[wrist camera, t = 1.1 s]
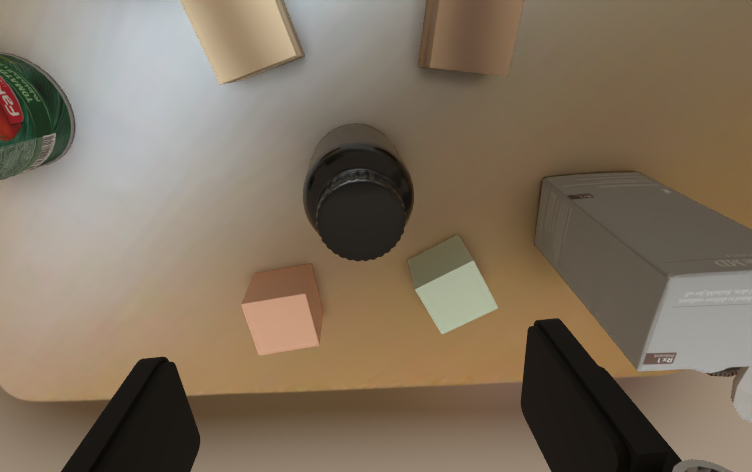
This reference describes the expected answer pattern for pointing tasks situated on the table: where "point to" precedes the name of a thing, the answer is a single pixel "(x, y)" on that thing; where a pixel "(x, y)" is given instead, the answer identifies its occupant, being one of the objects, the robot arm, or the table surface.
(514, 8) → the walnut cube
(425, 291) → the sage painted cube
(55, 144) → the canned tomato
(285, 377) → the table surface
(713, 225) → the skincare box
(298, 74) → the table surface
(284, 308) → the terracotta painted cube
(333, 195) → the supplement bottle
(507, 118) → the table surface
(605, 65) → the table surface
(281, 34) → the maple cube
